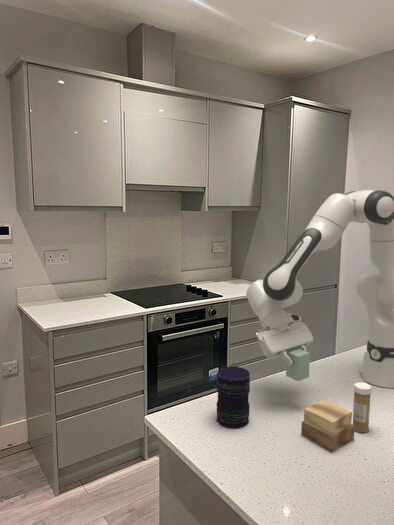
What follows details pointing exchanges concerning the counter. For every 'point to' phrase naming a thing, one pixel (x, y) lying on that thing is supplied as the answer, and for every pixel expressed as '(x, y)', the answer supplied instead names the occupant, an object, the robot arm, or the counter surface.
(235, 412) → the storage jar
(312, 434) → the walnut block
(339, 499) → the counter surface
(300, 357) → the sage block
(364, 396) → the sprinkles bottle
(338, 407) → the oak block
